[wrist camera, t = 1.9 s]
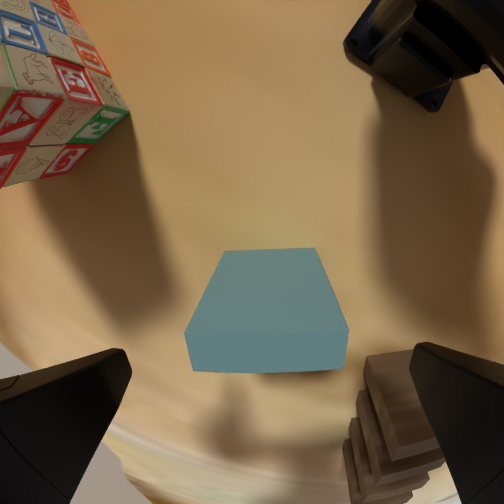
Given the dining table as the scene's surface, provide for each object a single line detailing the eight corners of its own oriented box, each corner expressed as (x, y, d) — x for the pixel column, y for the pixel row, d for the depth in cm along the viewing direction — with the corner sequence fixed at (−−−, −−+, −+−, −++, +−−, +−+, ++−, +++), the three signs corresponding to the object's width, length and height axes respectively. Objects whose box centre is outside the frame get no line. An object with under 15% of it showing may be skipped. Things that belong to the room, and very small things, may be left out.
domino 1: (345, 439, 21) (356, 510, 13) (393, 431, 21) (413, 496, 13) (342, 448, 22) (352, 515, 14) (389, 439, 21) (406, 502, 14)
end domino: (224, 251, 16) (184, 333, 8) (314, 247, 16) (348, 329, 8) (227, 277, 16) (193, 370, 9) (314, 274, 16) (343, 368, 8)
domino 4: (351, 418, 20) (367, 495, 12) (403, 408, 19) (429, 478, 12) (348, 428, 20) (362, 502, 13) (399, 419, 20) (422, 487, 12)
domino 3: (359, 390, 19) (381, 476, 11) (415, 381, 18) (449, 455, 11) (355, 403, 19) (375, 485, 12) (410, 394, 19) (440, 466, 11)
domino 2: (366, 356, 18) (399, 447, 10) (426, 346, 17) (473, 423, 10) (363, 372, 18) (391, 461, 11) (421, 363, 18) (462, 438, 10)
